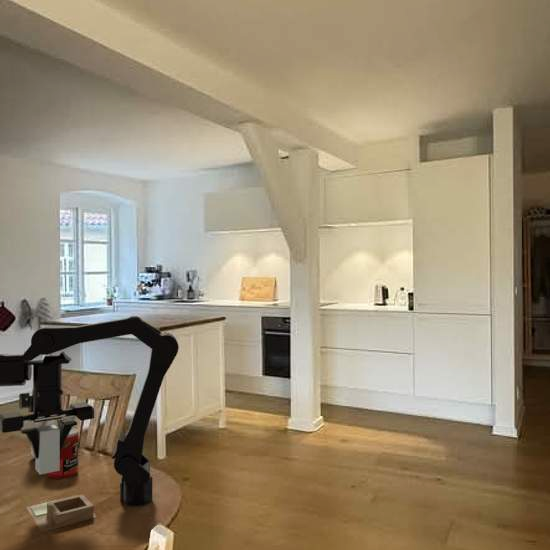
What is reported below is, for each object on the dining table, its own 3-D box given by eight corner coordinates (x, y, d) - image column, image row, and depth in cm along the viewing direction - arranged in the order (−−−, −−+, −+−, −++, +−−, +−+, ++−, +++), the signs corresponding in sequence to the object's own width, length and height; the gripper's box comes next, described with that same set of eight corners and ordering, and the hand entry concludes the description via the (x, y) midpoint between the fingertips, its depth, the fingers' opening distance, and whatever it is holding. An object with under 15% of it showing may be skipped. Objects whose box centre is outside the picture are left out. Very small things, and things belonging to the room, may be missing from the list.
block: (59, 470, 115) (59, 429, 115) (39, 474, 112) (40, 432, 112) (54, 465, 118) (54, 424, 118) (35, 469, 116) (35, 428, 116)
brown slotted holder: (97, 521, 111) (97, 504, 111) (41, 536, 105) (41, 519, 105) (77, 499, 123) (77, 484, 123) (25, 511, 116) (25, 495, 116)
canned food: (67, 480, 134) (67, 436, 134) (39, 477, 136) (39, 434, 136) (84, 469, 142) (84, 428, 142) (57, 467, 143) (57, 426, 143)
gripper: (79, 374, 127) (79, 439, 127) (-7, 383, 116) (-8, 454, 116) (95, 381, 118) (95, 451, 118) (2, 392, 107) (2, 469, 107)
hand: (47, 456), depth 115 cm, fingers closed on block, 4 cm apart
